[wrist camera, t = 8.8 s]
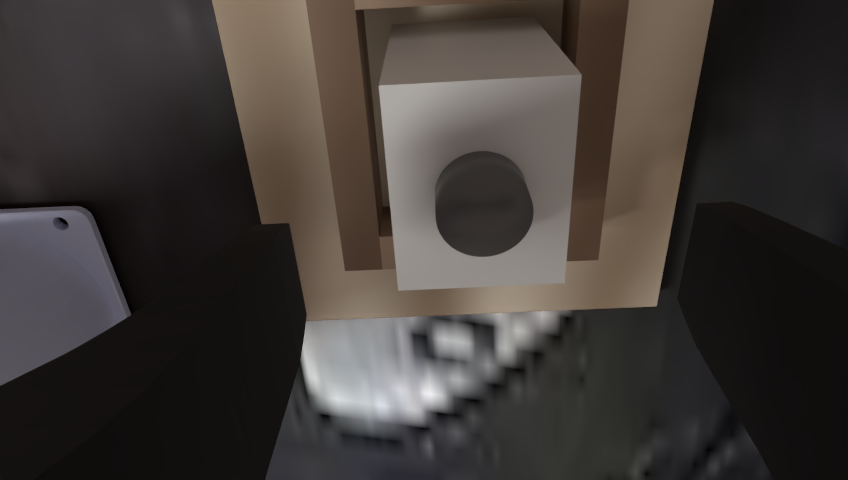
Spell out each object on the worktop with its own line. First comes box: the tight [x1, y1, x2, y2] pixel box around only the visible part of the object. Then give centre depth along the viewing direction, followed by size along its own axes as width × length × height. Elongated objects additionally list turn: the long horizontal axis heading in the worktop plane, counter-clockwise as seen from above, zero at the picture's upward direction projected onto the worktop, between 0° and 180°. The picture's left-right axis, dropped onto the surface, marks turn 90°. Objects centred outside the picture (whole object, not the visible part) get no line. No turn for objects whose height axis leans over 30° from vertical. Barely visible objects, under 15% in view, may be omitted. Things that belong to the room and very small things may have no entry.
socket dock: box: [212, 0, 714, 321], centre depth 18 cm, size 14×16×3 cm
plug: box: [379, 16, 582, 291], centre depth 15 cm, size 4×5×7 cm
